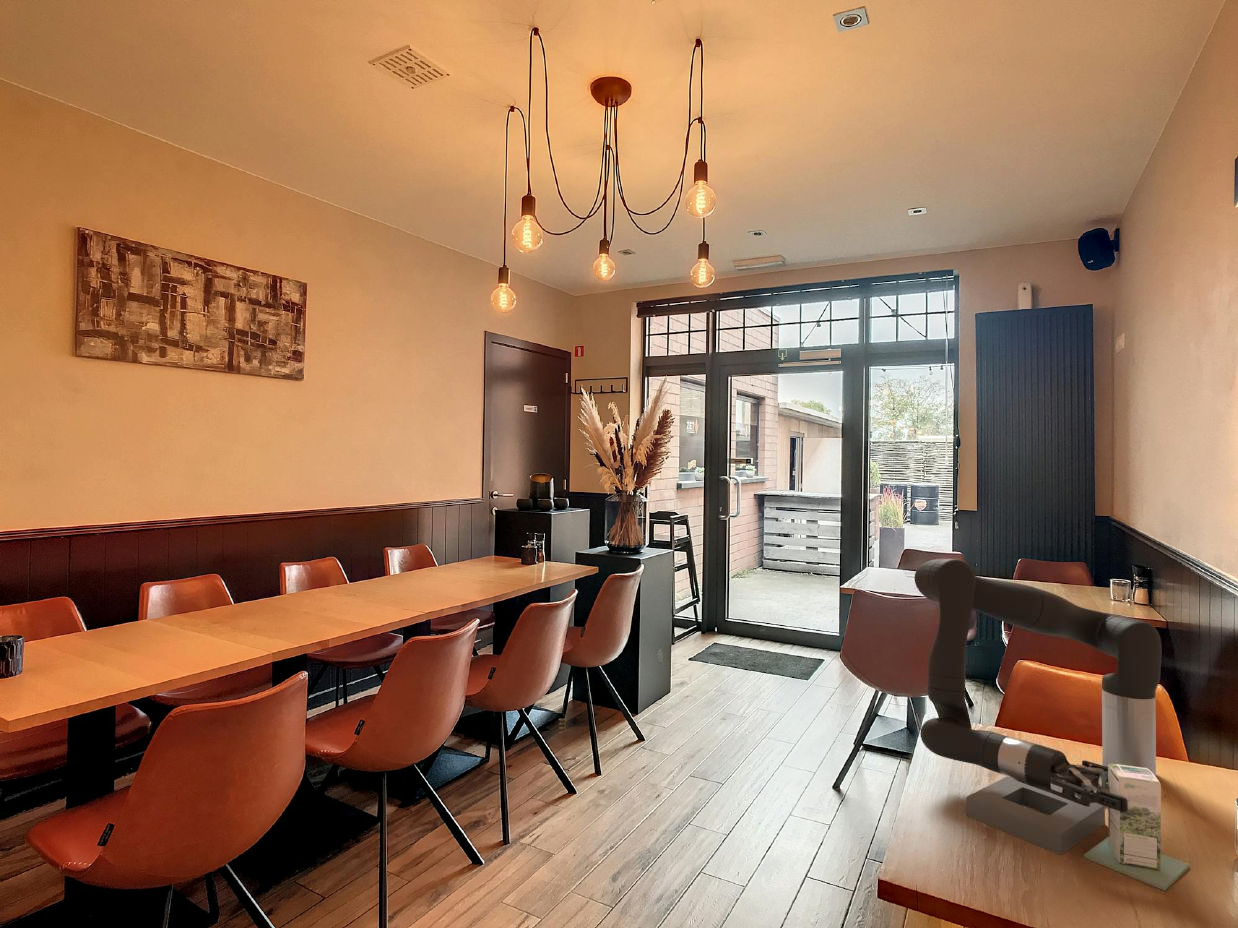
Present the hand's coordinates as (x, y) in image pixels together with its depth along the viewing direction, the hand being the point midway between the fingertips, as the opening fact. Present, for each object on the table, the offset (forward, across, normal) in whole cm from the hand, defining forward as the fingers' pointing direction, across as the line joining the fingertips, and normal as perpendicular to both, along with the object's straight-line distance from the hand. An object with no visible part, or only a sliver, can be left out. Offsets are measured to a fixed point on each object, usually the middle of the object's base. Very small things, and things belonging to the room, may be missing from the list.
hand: (1137, 798), depth 112 cm
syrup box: (0, 0, +10) cm, 10 cm away
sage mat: (0, 0, +10) cm, 11 cm away
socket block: (-16, +1, +10) cm, 19 cm away
